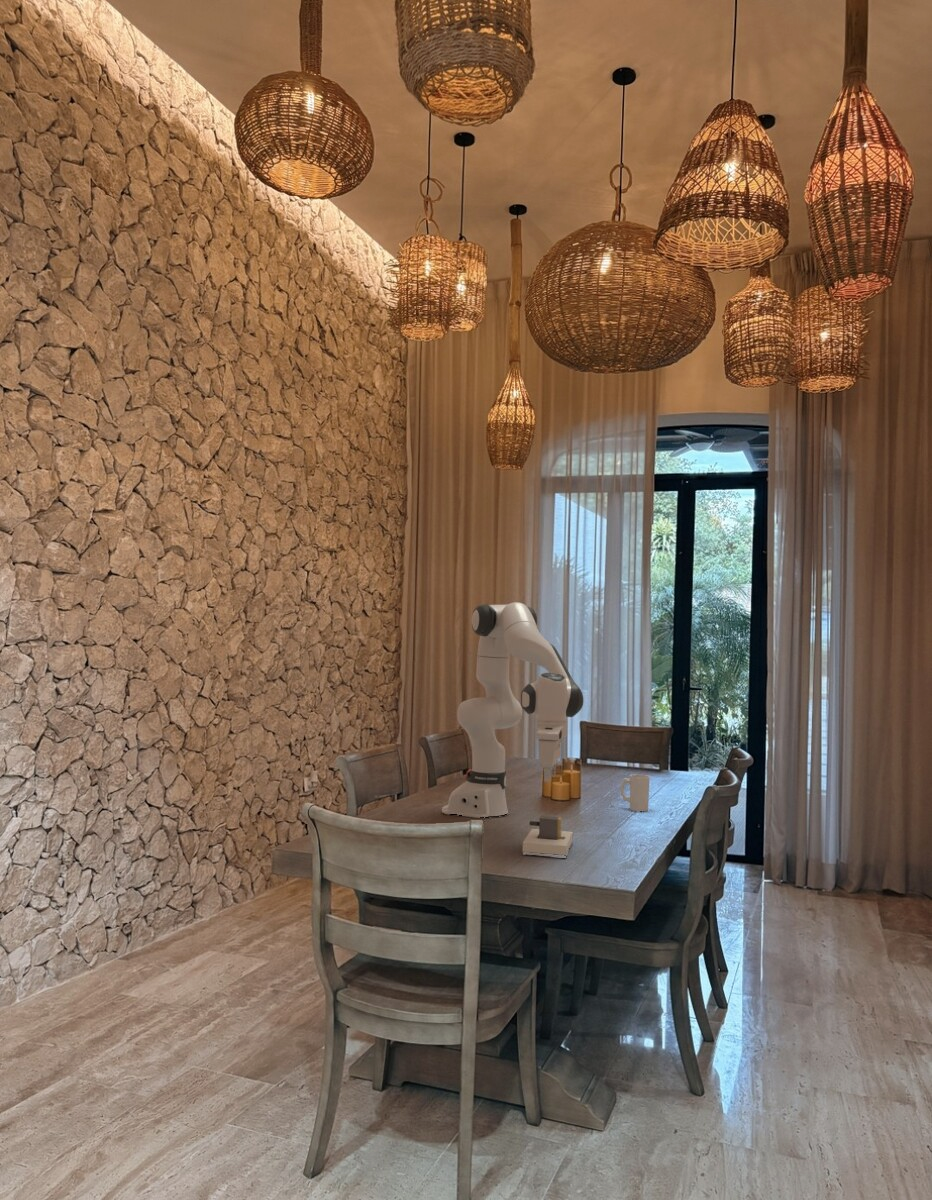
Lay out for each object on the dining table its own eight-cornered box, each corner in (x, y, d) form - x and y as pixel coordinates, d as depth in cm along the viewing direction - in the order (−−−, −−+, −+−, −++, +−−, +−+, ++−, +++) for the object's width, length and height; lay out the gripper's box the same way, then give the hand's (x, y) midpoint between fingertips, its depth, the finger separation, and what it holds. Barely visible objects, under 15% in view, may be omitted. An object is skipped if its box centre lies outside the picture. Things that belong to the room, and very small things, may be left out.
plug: (528, 845, 257) (529, 817, 257) (530, 842, 261) (531, 814, 261) (560, 848, 255) (560, 819, 255) (561, 845, 259) (562, 817, 259)
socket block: (522, 855, 250) (522, 842, 250) (531, 840, 268) (532, 828, 268) (565, 858, 247) (566, 846, 247) (572, 843, 265) (572, 831, 265)
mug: (650, 809, 319) (651, 775, 320) (647, 813, 313) (647, 778, 314) (621, 806, 323) (622, 773, 323) (618, 810, 317) (618, 775, 317)
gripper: (544, 725, 269) (543, 772, 269) (535, 733, 249) (533, 784, 249) (566, 727, 268) (564, 774, 268) (558, 735, 248) (556, 785, 248)
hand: (549, 779), depth 258 cm, fingers open, 8 cm apart
